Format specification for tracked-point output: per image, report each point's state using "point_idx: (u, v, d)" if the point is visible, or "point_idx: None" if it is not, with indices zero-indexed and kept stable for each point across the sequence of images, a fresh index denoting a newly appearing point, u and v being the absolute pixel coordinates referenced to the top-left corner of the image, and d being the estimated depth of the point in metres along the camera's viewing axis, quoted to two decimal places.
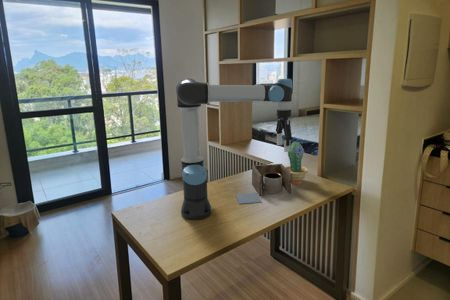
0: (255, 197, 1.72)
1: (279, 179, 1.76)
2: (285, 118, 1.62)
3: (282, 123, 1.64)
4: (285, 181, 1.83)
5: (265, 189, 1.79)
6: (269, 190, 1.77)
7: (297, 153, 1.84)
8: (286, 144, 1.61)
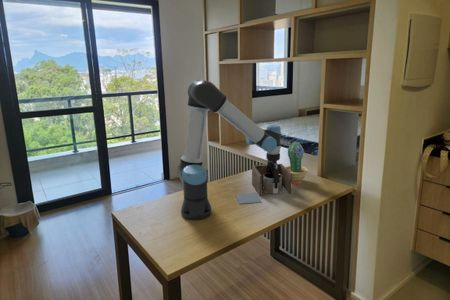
0: (255, 197, 1.72)
1: None
2: (274, 162, 1.73)
3: (271, 166, 1.75)
4: (285, 181, 1.83)
5: (265, 189, 1.79)
6: (269, 190, 1.77)
7: (297, 153, 1.84)
8: (274, 186, 1.74)
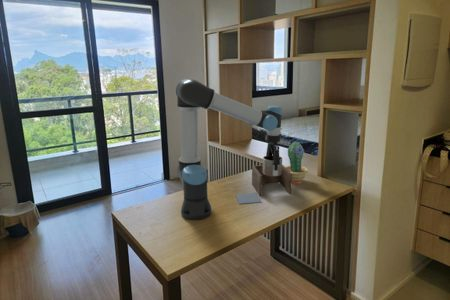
0: (255, 197, 1.72)
1: None
2: (274, 143, 1.70)
3: (271, 148, 1.72)
4: (285, 181, 1.83)
5: (264, 172, 1.76)
6: (269, 172, 1.74)
7: (297, 153, 1.84)
8: (274, 169, 1.71)
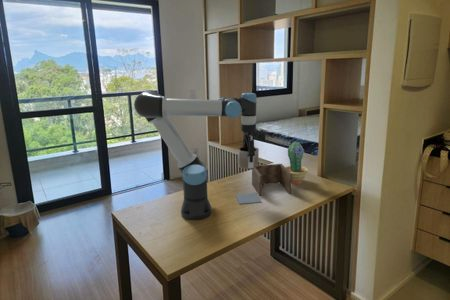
0: (255, 197, 1.72)
1: (255, 152, 1.61)
2: (249, 133, 1.59)
3: (246, 138, 1.60)
4: (285, 181, 1.83)
5: (239, 164, 1.64)
6: (244, 164, 1.62)
7: (297, 153, 1.84)
8: (249, 160, 1.59)
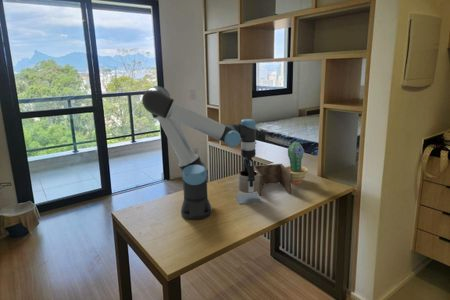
0: (255, 197, 1.72)
1: (255, 177, 1.64)
2: (249, 159, 1.62)
3: (246, 163, 1.64)
4: (285, 181, 1.83)
5: (240, 188, 1.67)
6: (244, 189, 1.66)
7: (297, 153, 1.84)
8: (250, 185, 1.63)
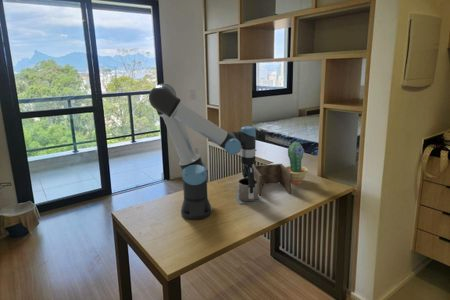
0: None
1: None
2: (249, 165, 1.63)
3: (246, 170, 1.65)
4: (285, 181, 1.83)
5: (239, 196, 1.69)
6: (244, 197, 1.67)
7: (297, 153, 1.84)
8: (250, 191, 1.63)
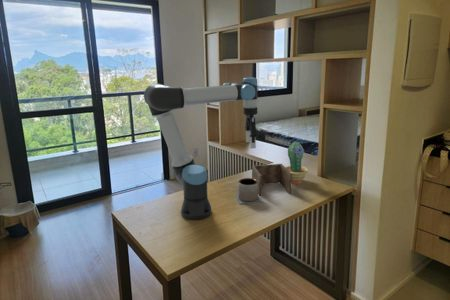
0: None
1: (254, 186, 1.66)
2: (251, 116, 1.67)
3: (248, 120, 1.69)
4: (285, 181, 1.83)
5: (239, 196, 1.69)
6: (244, 197, 1.67)
7: (297, 153, 1.84)
8: (252, 141, 1.67)
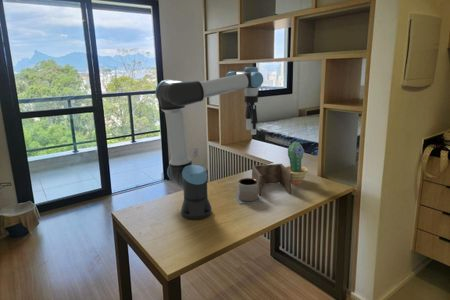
0: None
1: (254, 186, 1.66)
2: (252, 103, 1.75)
3: (249, 108, 1.77)
4: (285, 181, 1.83)
5: (239, 196, 1.69)
6: (244, 197, 1.67)
7: (297, 153, 1.84)
8: (253, 127, 1.75)
